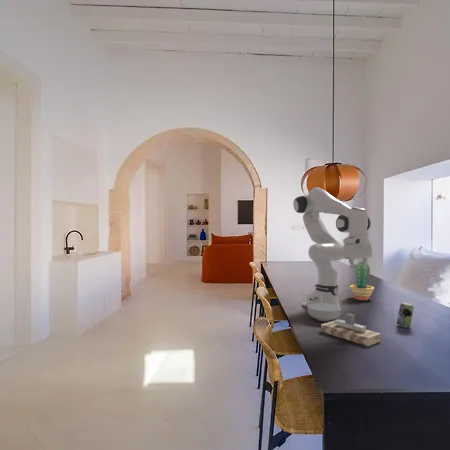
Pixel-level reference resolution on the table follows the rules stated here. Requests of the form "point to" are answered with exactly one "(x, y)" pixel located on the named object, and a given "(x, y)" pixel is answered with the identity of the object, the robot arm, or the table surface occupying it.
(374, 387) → the table surface
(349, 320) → the gray u-shaped bracket
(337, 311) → the cereal bowl
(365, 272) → the potted cactus
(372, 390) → the table surface
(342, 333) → the beige flat rectangular block
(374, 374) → the table surface
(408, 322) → the beverage can
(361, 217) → the robot arm
